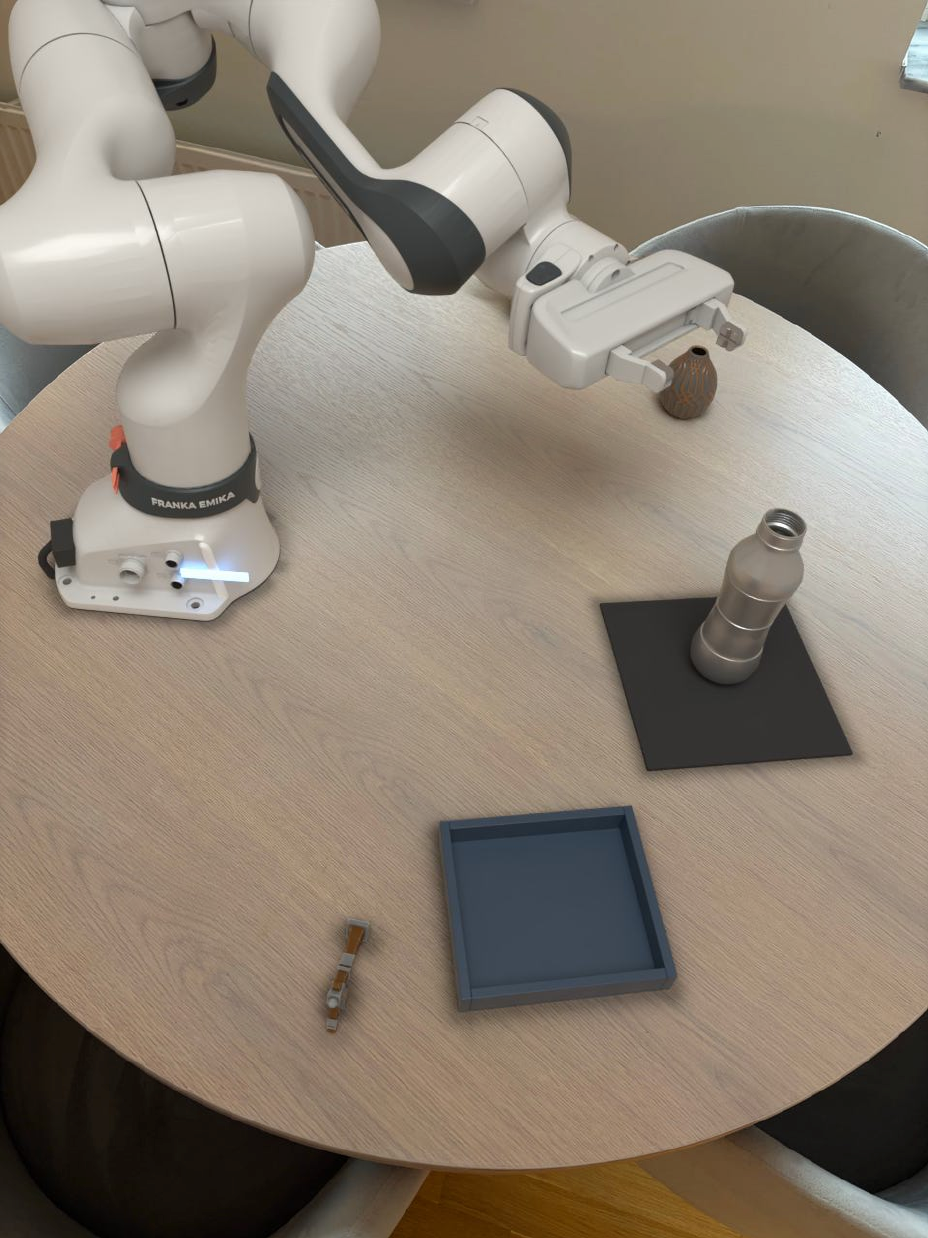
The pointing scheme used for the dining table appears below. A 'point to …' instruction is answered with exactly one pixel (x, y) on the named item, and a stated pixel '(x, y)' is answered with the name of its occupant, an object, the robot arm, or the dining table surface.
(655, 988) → the tray
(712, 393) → the vase
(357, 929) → the wooden post with brackets
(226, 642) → the dining table surface
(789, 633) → the mat
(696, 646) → the silver metal bottle
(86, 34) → the robot arm
